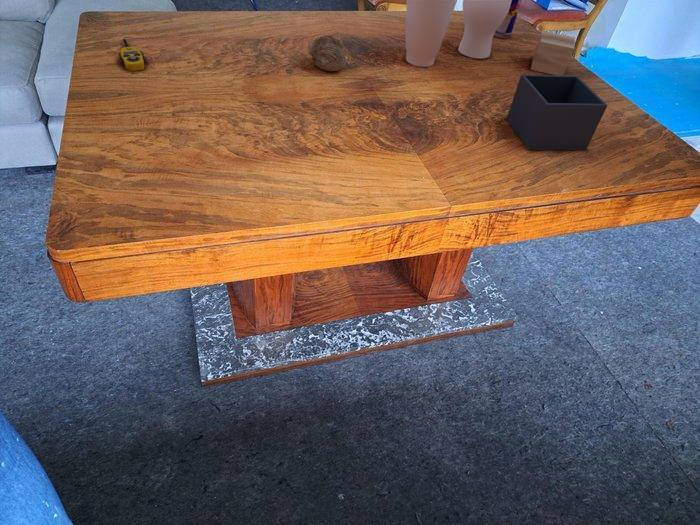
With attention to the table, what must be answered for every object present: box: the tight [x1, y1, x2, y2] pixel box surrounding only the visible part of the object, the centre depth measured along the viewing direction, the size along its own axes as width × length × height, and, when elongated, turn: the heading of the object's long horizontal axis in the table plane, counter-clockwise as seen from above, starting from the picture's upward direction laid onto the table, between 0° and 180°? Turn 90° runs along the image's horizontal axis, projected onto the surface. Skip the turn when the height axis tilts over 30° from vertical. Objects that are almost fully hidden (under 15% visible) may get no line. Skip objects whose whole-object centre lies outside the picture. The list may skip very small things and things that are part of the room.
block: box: [530, 30, 576, 76], centre depth 126 cm, size 8×8×7 cm
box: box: [506, 74, 608, 151], centre depth 100 cm, size 12×12×10 cm
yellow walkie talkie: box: [118, 38, 146, 72], centre depth 111 cm, size 5×2×15 cm
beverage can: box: [494, 0, 522, 39], centre depth 136 cm, size 5×5×15 cm
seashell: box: [307, 35, 347, 72], centre depth 114 cm, size 9×7×8 cm
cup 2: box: [457, 0, 512, 59], centre depth 125 cm, size 11×11×16 cm
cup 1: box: [404, 0, 458, 68], centre depth 119 cm, size 12×12×16 cm
